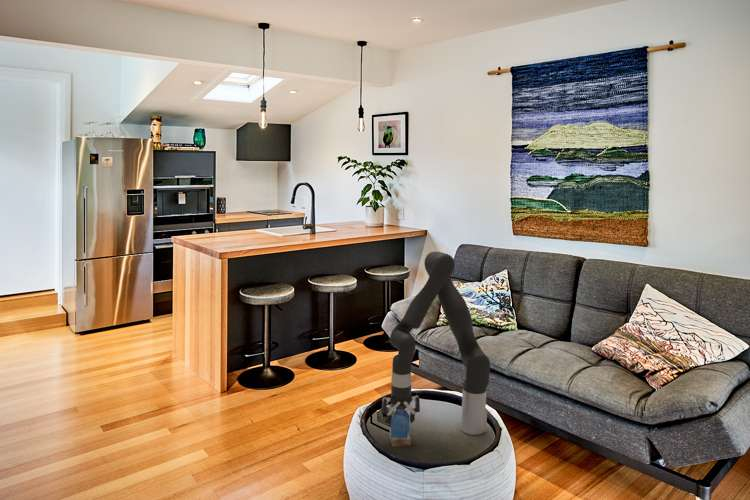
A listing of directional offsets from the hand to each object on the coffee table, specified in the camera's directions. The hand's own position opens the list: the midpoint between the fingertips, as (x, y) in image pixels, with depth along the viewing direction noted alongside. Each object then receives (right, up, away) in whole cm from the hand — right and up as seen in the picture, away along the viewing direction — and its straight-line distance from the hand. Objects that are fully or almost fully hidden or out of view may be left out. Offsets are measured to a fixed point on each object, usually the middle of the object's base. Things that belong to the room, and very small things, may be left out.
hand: (400, 422), depth 207 cm
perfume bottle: (0, -5, +1) cm, 5 cm away
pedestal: (0, -7, +1) cm, 8 cm away
